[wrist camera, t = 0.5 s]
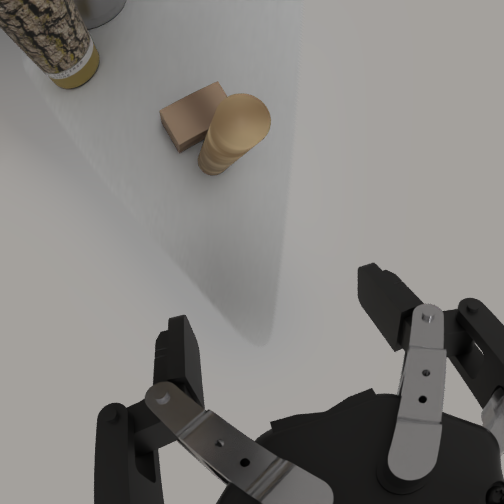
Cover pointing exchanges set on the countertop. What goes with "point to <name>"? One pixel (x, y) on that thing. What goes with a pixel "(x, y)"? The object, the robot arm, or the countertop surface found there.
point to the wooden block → (192, 116)
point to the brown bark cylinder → (52, 38)
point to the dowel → (233, 132)
